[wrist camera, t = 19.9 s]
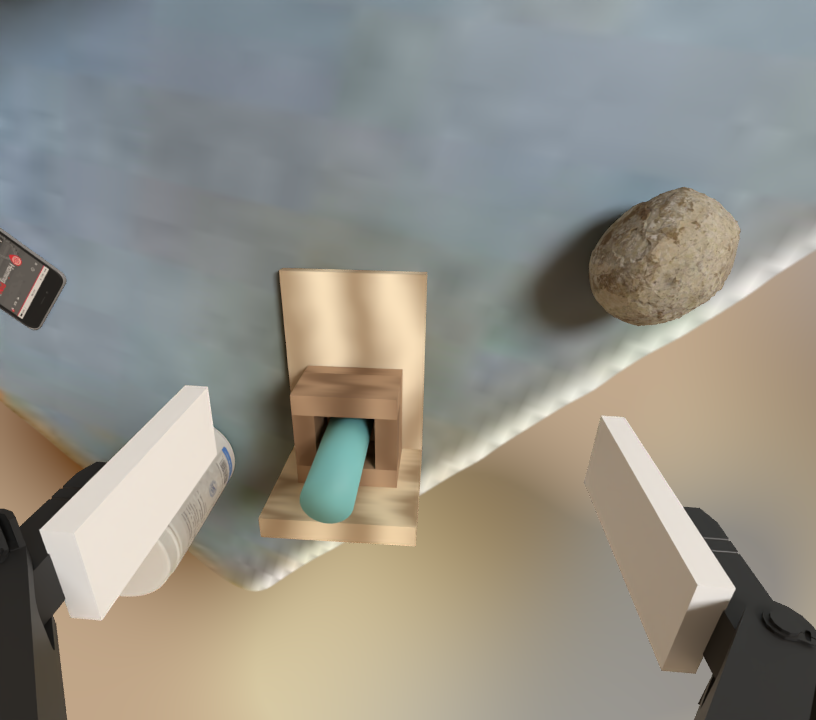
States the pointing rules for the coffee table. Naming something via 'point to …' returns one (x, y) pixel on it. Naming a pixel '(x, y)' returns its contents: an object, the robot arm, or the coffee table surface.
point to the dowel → (336, 470)
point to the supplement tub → (184, 524)
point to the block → (350, 416)
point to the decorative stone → (664, 257)
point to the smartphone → (27, 282)
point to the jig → (364, 348)
